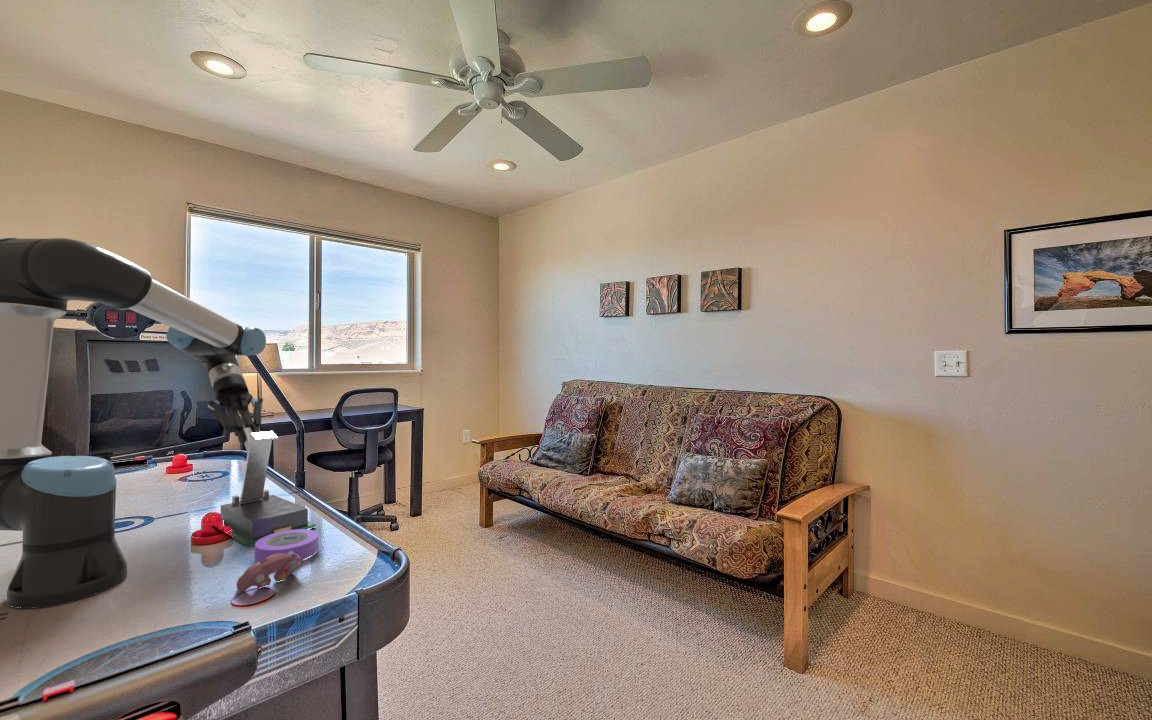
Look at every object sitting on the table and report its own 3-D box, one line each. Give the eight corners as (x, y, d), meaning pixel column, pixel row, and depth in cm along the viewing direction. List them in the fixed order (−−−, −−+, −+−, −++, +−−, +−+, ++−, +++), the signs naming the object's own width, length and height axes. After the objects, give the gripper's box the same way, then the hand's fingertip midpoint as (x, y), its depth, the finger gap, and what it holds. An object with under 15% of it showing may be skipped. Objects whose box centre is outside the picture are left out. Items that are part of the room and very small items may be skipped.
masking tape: (313, 563, 100) (313, 545, 100) (247, 571, 96) (247, 552, 96) (321, 543, 111) (322, 526, 111) (262, 549, 107) (263, 532, 107)
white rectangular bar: (244, 509, 122) (238, 501, 124) (266, 505, 125) (259, 497, 128) (256, 439, 118) (249, 431, 120) (277, 436, 121) (271, 429, 124)
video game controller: (243, 605, 86) (252, 574, 84) (232, 587, 88) (241, 557, 86) (299, 583, 94) (309, 554, 93) (288, 567, 96) (297, 539, 95)
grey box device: (212, 525, 121) (212, 498, 121) (277, 511, 133) (277, 485, 133) (246, 546, 108) (247, 515, 108) (315, 528, 120) (316, 500, 120)
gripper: (203, 374, 128) (226, 444, 118) (259, 373, 138) (284, 438, 128) (196, 393, 131) (218, 463, 121) (251, 391, 141) (275, 455, 131)
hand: (252, 450), depth 125 cm, fingers closed
